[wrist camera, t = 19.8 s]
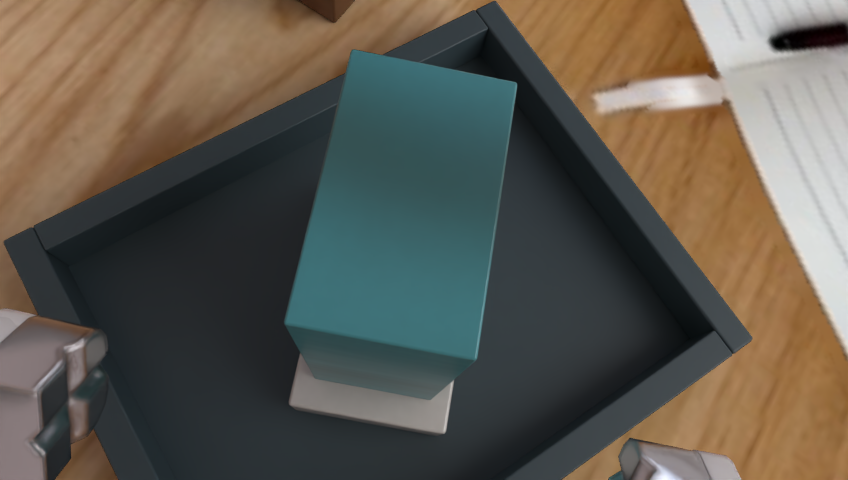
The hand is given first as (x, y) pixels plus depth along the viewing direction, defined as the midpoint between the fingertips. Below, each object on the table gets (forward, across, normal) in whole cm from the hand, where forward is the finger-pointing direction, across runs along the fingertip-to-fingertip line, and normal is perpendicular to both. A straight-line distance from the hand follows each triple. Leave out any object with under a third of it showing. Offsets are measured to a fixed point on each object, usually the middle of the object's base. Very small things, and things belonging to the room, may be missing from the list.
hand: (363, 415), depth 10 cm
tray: (+9, 0, +4) cm, 9 cm away
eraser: (+8, 0, +3) cm, 9 cm away
